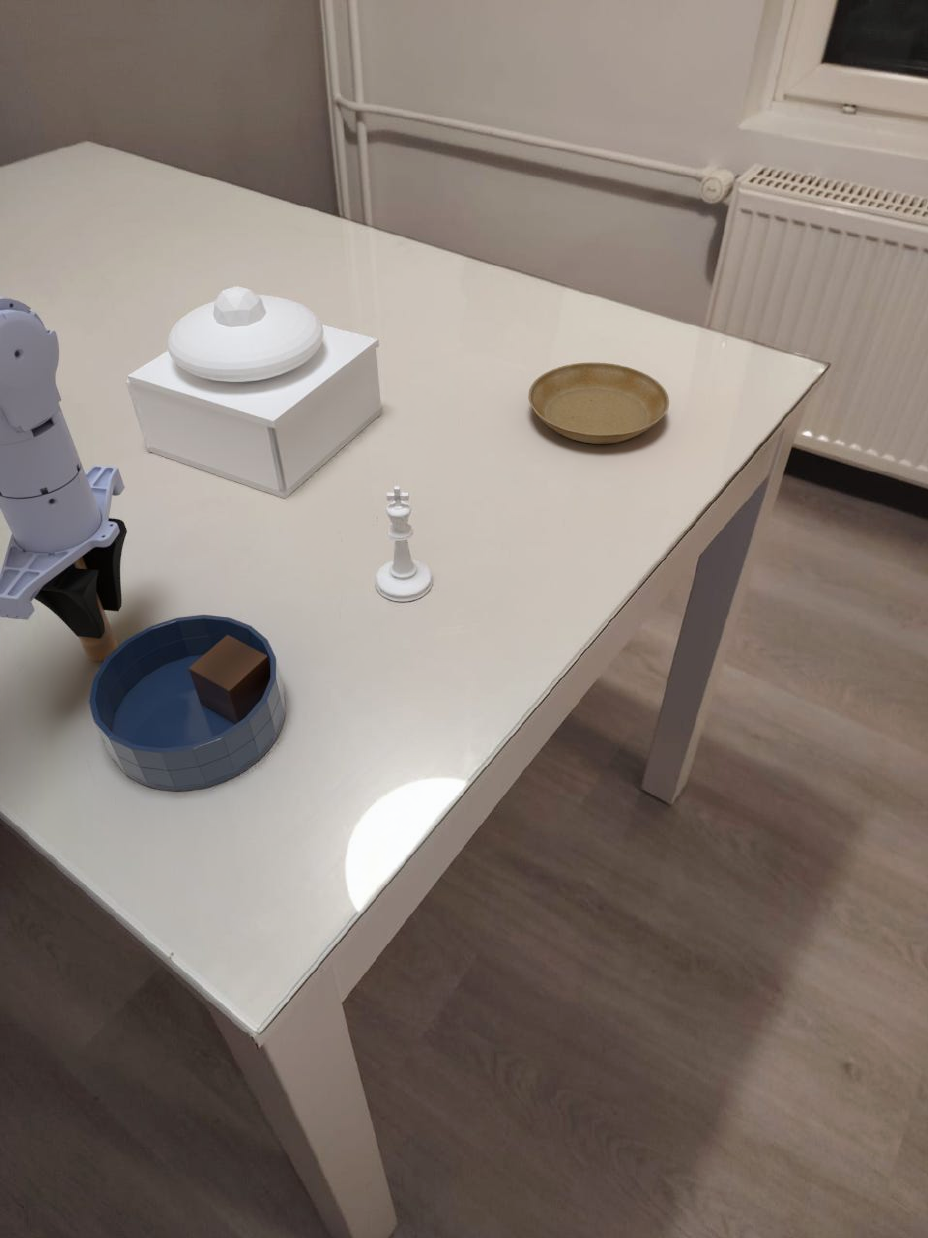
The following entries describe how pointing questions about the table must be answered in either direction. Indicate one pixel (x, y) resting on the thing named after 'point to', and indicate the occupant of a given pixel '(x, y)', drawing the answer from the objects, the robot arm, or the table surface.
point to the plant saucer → (598, 402)
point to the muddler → (107, 643)
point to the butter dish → (256, 391)
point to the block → (231, 678)
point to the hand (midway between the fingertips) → (99, 620)
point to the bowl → (180, 707)
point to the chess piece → (402, 557)
